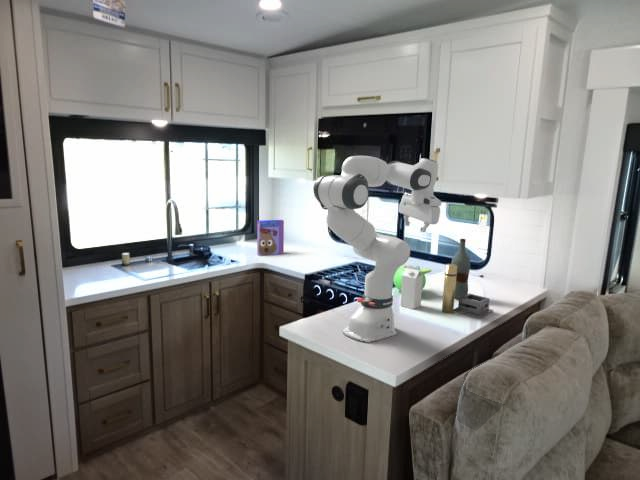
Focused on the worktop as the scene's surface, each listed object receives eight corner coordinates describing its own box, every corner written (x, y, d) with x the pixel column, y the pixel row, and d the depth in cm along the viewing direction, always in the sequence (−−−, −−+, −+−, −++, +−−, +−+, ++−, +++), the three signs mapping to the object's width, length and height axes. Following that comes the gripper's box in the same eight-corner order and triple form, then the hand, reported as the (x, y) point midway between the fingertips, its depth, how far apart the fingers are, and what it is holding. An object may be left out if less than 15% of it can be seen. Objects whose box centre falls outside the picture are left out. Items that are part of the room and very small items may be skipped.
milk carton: (407, 302, 213) (409, 264, 209) (420, 305, 208) (423, 266, 205) (400, 305, 207) (402, 267, 204) (413, 309, 203) (416, 269, 199)
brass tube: (449, 314, 197) (453, 267, 193) (439, 311, 201) (443, 265, 197) (455, 311, 201) (459, 265, 197) (445, 308, 205) (449, 263, 200)
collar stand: (480, 319, 193) (481, 305, 191) (453, 311, 202) (454, 297, 200) (493, 312, 202) (494, 298, 200) (466, 304, 211) (467, 291, 209)
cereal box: (259, 256, 300) (259, 221, 295) (257, 254, 304) (257, 220, 299) (283, 254, 306) (283, 220, 302) (281, 252, 311) (281, 219, 306)
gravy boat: (387, 288, 235) (389, 261, 232) (416, 286, 239) (418, 260, 236) (401, 298, 217) (403, 270, 215) (432, 296, 222) (434, 268, 219)
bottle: (454, 300, 216) (459, 241, 210) (444, 295, 225) (449, 237, 219) (471, 299, 219) (476, 240, 213) (460, 293, 227) (465, 237, 222)
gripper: (398, 191, 192) (392, 222, 195) (434, 203, 176) (427, 235, 180) (408, 192, 195) (402, 221, 199) (444, 203, 180) (437, 235, 183)
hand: (414, 228), depth 189 cm, fingers open, 8 cm apart
